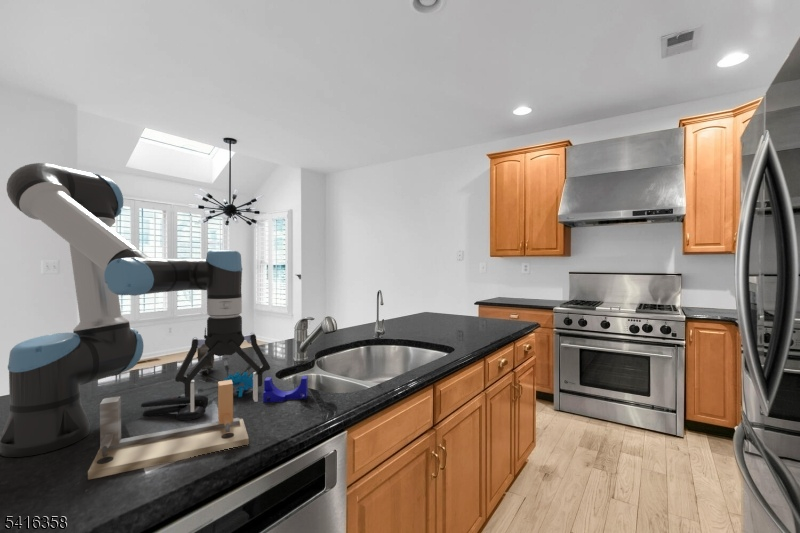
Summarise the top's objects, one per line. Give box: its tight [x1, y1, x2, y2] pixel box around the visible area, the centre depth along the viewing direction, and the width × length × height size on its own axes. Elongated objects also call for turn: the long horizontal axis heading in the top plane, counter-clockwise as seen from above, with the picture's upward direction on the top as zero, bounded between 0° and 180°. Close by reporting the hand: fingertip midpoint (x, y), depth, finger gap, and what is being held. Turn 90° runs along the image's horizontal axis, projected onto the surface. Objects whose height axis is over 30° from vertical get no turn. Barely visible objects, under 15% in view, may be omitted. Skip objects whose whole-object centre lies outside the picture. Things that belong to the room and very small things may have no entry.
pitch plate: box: [87, 396, 250, 481], centre depth 83 cm, size 28×12×12 cm, turn 118°
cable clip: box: [262, 375, 309, 403], centre depth 113 cm, size 12×4×6 cm, turn 97°
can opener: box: [140, 393, 209, 421], centre depth 101 cm, size 18×7×6 cm, turn 87°
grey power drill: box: [196, 327, 215, 375], centre depth 141 cm, size 11×5×16 cm, turn 22°
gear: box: [223, 371, 253, 398], centre depth 116 cm, size 11×6×10 cm
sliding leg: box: [217, 380, 234, 432], centre depth 88 cm, size 3×8×9 cm, turn 28°
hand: (225, 404), depth 91 cm, fingers open, 13 cm apart
